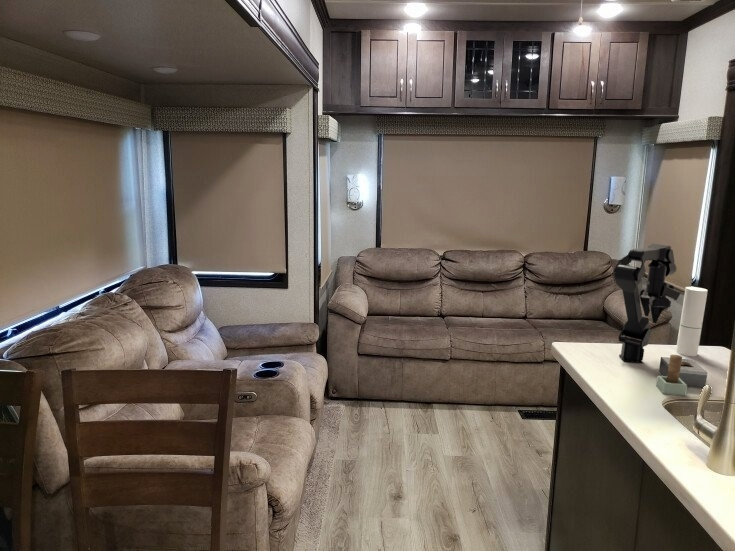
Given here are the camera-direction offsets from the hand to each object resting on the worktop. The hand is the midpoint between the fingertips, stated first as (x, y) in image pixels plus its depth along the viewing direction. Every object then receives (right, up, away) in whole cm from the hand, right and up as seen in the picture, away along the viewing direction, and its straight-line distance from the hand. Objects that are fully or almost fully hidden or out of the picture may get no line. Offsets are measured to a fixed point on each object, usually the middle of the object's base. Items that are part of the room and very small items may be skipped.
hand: (650, 319), depth 210 cm
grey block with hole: (-2, -18, -24) cm, 30 cm away
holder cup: (-10, -20, -33) cm, 40 cm away
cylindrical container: (+16, -13, +4) cm, 21 cm away
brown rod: (-10, -19, -34) cm, 40 cm away
